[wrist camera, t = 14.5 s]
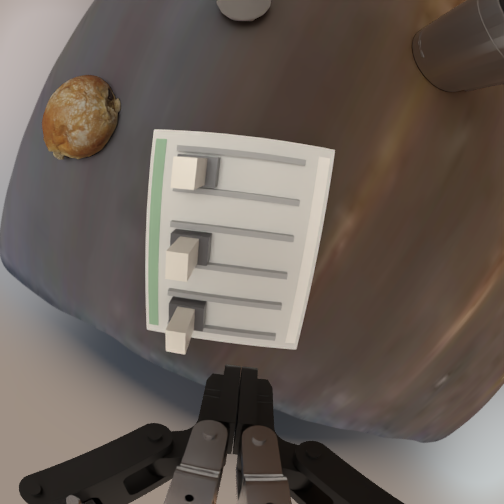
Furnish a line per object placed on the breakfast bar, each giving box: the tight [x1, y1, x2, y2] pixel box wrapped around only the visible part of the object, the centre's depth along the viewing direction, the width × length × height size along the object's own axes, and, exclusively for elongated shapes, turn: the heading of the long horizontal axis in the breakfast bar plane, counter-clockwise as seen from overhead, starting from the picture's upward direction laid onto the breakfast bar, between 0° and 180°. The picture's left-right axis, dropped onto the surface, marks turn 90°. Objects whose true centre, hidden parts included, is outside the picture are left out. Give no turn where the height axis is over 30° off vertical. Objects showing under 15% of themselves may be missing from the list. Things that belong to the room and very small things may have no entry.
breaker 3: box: [165, 296, 207, 354], centre depth 31 cm, size 4×3×7 cm
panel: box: [145, 129, 335, 350], centre depth 33 cm, size 19×24×2 cm
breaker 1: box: [170, 154, 221, 190], centre depth 27 cm, size 4×3×7 cm
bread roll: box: [42, 75, 121, 160], centre depth 27 cm, size 10×10×8 cm
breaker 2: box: [165, 229, 212, 282], centre depth 29 cm, size 4×3×7 cm
